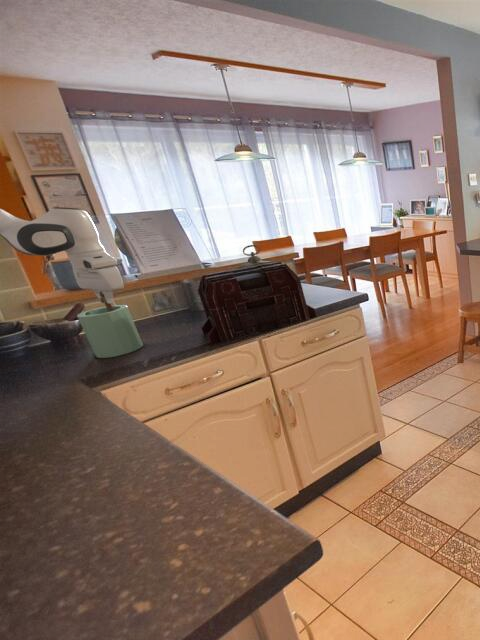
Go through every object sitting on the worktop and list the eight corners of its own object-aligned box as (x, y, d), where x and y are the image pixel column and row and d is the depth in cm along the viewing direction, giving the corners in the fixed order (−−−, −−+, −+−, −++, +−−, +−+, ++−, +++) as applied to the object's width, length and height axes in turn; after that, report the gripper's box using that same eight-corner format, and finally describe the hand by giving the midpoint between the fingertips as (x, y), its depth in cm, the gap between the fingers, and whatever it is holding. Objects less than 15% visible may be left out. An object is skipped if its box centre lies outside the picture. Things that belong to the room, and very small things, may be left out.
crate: (301, 308, 178) (288, 257, 170) (319, 317, 165) (305, 262, 157) (202, 333, 156) (181, 276, 148) (212, 345, 143) (191, 284, 135)
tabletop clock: (255, 309, 181) (237, 249, 172) (244, 306, 186) (225, 248, 177) (287, 299, 192) (272, 242, 183) (276, 297, 197) (260, 241, 188)
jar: (108, 359, 138) (89, 318, 132) (88, 355, 142) (69, 315, 137) (150, 345, 148) (134, 306, 142) (130, 341, 153) (114, 303, 147)
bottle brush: (121, 345, 144) (98, 292, 137) (114, 344, 146) (91, 291, 139) (136, 341, 148) (114, 289, 141) (129, 339, 149) (107, 288, 143)
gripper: (60, 261, 138) (79, 303, 143) (94, 263, 130) (113, 307, 135) (85, 257, 143) (102, 298, 148) (119, 259, 135) (136, 301, 140)
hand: (107, 302), depth 141 cm, fingers closed on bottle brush, 2 cm apart
